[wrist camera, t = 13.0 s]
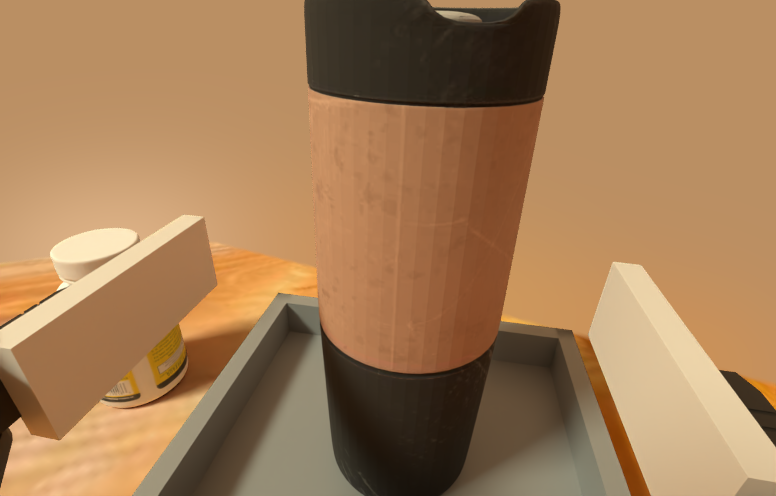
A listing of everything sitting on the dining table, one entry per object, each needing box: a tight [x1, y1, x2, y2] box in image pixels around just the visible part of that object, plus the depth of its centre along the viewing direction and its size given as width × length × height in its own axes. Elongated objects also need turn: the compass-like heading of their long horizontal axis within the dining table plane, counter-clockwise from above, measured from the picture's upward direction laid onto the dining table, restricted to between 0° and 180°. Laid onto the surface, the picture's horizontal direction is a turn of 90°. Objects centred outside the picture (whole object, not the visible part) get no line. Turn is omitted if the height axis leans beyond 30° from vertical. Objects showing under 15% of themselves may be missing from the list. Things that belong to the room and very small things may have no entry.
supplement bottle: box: [50, 228, 188, 408], centre depth 24 cm, size 5×5×10 cm
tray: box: [132, 293, 631, 496], centre depth 21 cm, size 20×16×4 cm
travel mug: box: [304, 0, 560, 496], centre depth 17 cm, size 8×8×20 cm
